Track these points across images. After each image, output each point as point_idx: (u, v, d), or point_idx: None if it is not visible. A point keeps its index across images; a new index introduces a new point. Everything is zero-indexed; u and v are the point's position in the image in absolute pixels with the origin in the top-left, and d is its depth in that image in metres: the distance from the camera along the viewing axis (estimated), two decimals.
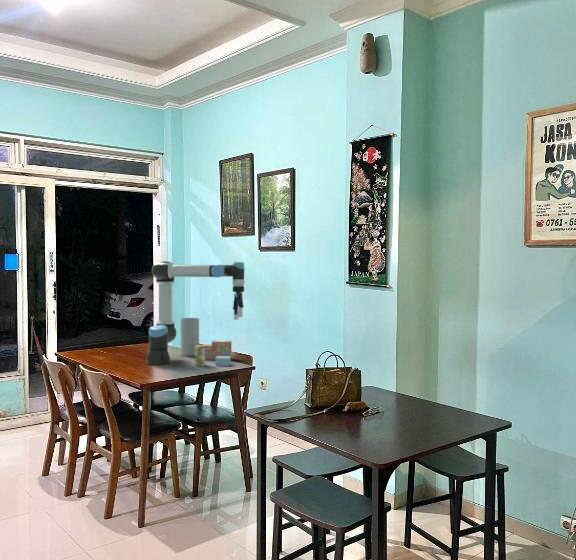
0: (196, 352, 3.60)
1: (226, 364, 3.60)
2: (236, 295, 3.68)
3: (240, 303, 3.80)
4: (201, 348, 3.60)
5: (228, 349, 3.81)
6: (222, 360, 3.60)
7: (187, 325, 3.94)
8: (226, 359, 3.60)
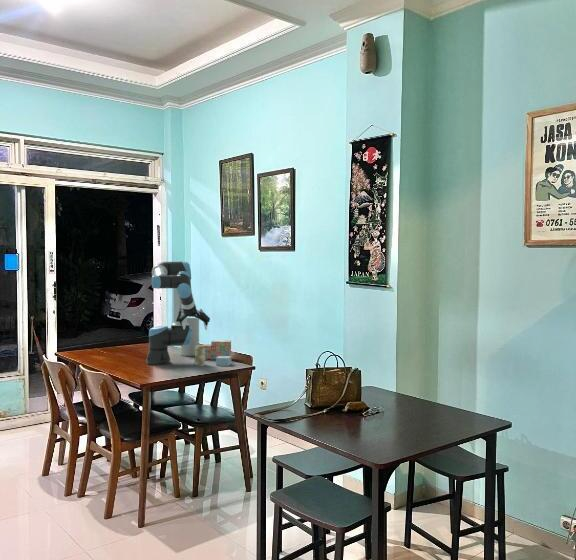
0: (196, 352, 3.60)
1: (227, 364, 3.60)
2: None
3: None
4: (201, 348, 3.60)
5: (228, 349, 3.81)
6: (223, 360, 3.60)
7: None
8: (226, 359, 3.60)
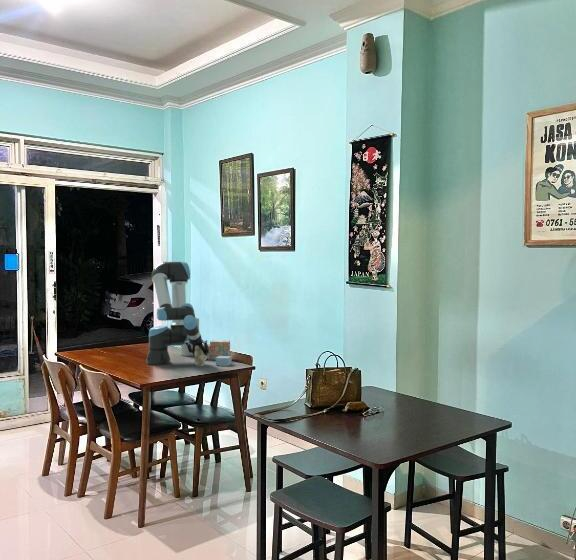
0: (196, 352, 3.60)
1: (226, 364, 3.60)
2: None
3: None
4: None
5: (226, 349, 3.80)
6: (222, 360, 3.60)
7: None
8: (226, 359, 3.60)
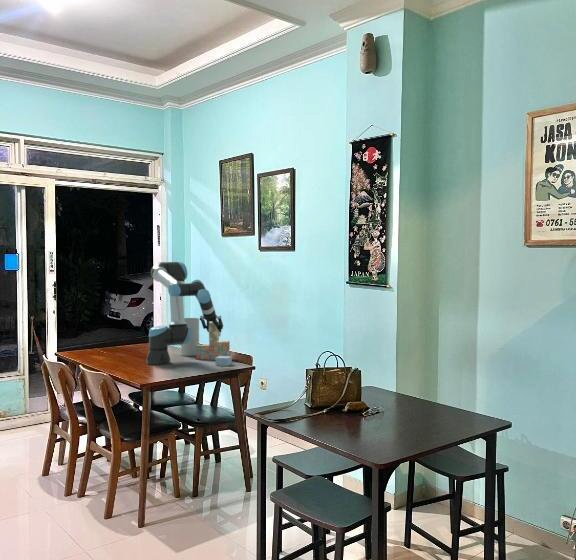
0: (210, 328, 3.59)
1: (226, 364, 3.60)
2: None
3: None
4: None
5: (225, 349, 3.79)
6: (222, 360, 3.60)
7: (187, 325, 3.94)
8: (226, 359, 3.60)
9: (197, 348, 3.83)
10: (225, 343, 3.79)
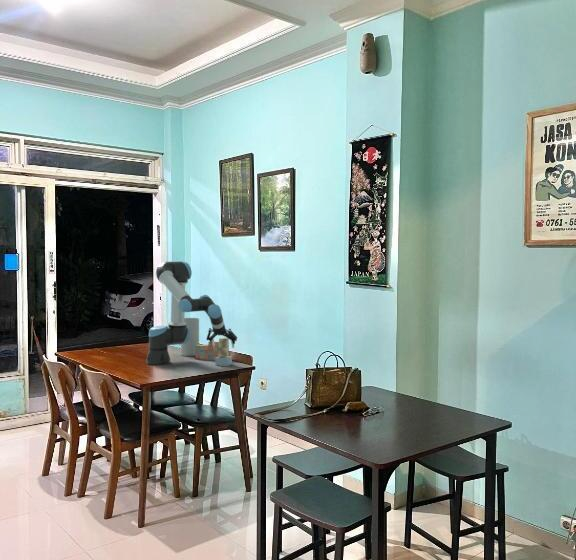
0: (220, 344, 3.61)
1: (226, 364, 3.60)
2: None
3: None
4: (225, 340, 3.61)
5: None
6: (222, 360, 3.60)
7: (187, 325, 3.94)
8: (225, 359, 3.60)
9: (196, 348, 3.83)
10: None
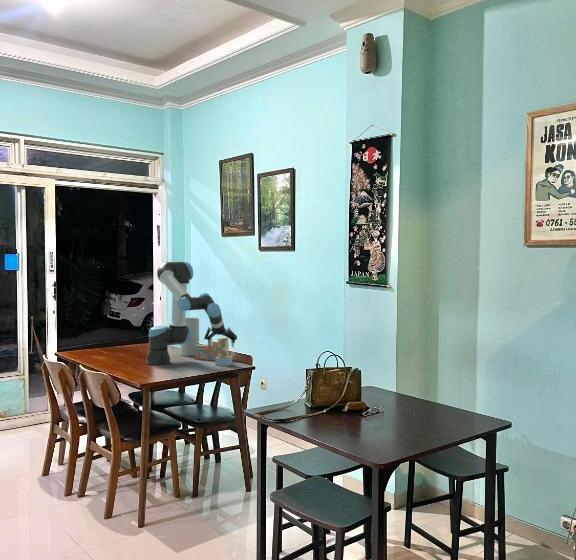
0: (219, 344, 3.62)
1: (226, 364, 3.60)
2: None
3: None
4: (224, 340, 3.61)
5: None
6: (222, 360, 3.60)
7: (187, 325, 3.94)
8: (225, 359, 3.60)
9: (196, 348, 3.83)
10: None
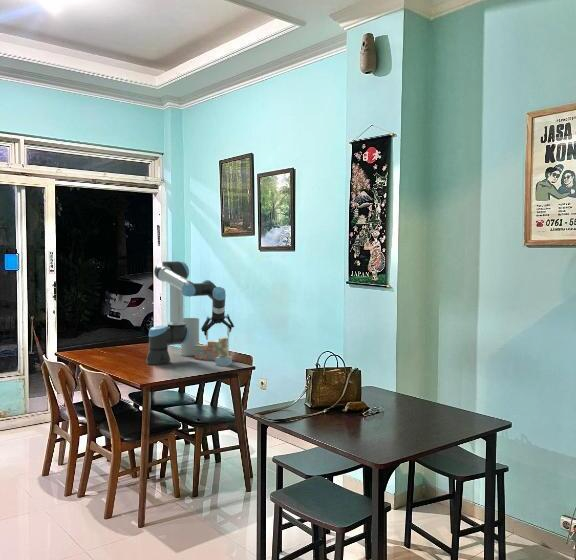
0: (220, 344, 3.61)
1: (226, 364, 3.60)
2: (207, 319, 3.50)
3: None
4: (225, 340, 3.61)
5: None
6: (222, 360, 3.60)
7: (187, 325, 3.94)
8: (225, 359, 3.60)
9: (195, 348, 3.83)
10: None
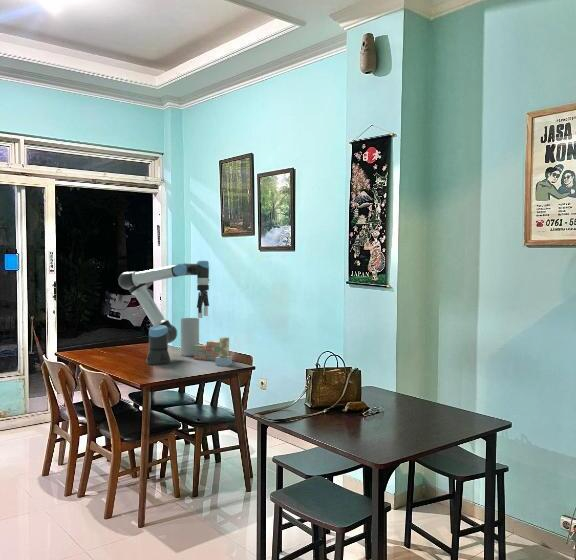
0: (221, 344, 3.62)
1: (226, 364, 3.60)
2: (200, 293, 3.69)
3: (205, 301, 3.81)
4: (226, 340, 3.61)
5: None
6: (222, 360, 3.60)
7: (187, 325, 3.94)
8: (225, 359, 3.60)
9: (195, 348, 3.83)
10: None
